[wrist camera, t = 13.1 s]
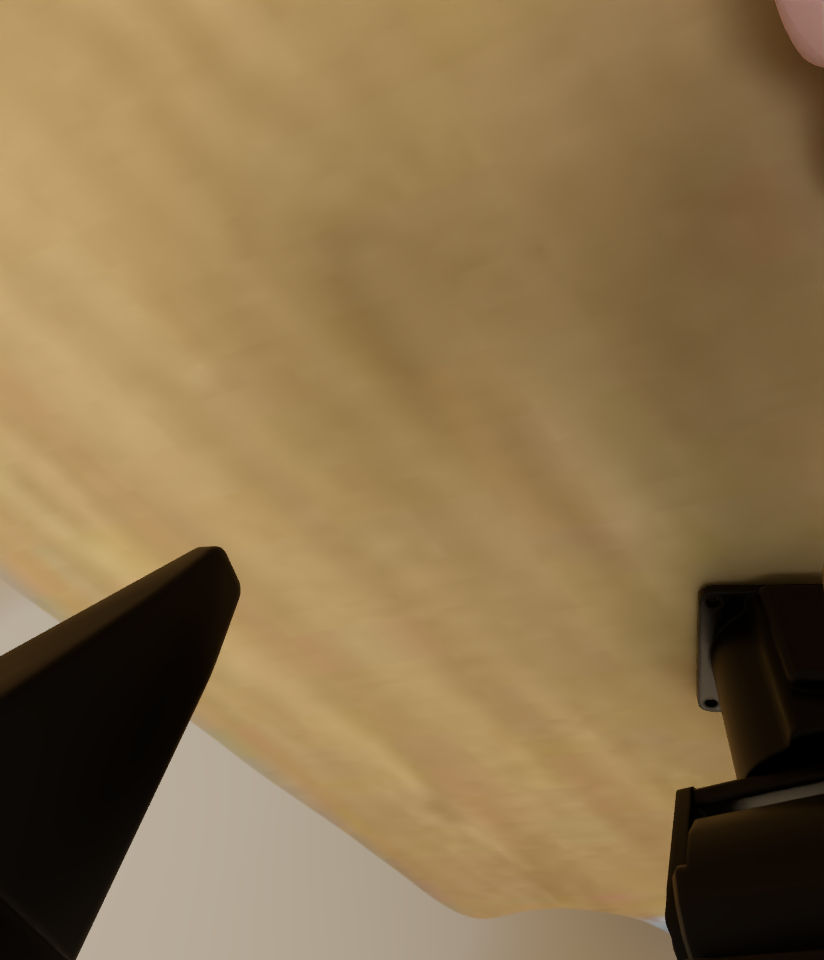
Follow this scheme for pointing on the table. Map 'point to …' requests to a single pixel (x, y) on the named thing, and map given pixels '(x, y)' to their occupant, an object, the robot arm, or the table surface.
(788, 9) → the rabbit figure
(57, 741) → the robot arm
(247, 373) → the table surface
